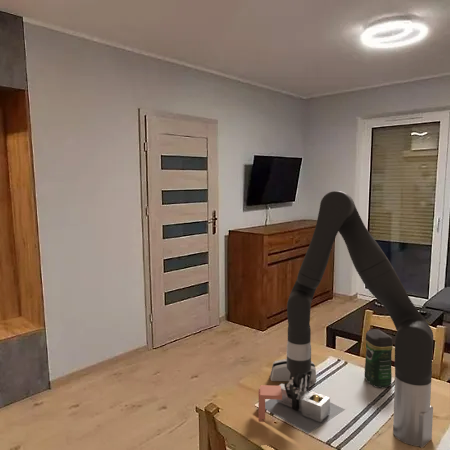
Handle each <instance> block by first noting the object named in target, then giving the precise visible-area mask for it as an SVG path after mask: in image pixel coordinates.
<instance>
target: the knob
mask: <svg viewBox="0 0 450 450" xmlns="http://www.w3.org/2000/svg"><path fill="white" fill-rule="evenodd" d="M313 401H315V402H318V403H319V396H318V395H314V397H313Z"/></svg>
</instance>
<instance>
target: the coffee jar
mask: <svg viewBox="0 0 450 450" xmlns="http://www.w3.org/2000/svg"><path fill="white" fill-rule="evenodd" d="M364 339H365V361H364V362H365V363H364V373H363V374H364V378H365V380H366V381H367V382H368V383H369V384H370V385H372V386H373V387H377V388H382V387H383V388H387V387H389V386H392V379H393V378H392V377H393V376H392V375H393V373H392V355H393V354H392V353H393V352H392V351H393V347H394V344H393V342H394V341H393V337H392V336H391V335H389V334H387V333H386V332H385V331H382V330H380V329H377V328H376V329H373V328H372V329H369V330H367V331H366V333H365V338H364Z"/></svg>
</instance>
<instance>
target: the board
mask: <svg viewBox="0 0 450 450" xmlns="http://www.w3.org/2000/svg"><path fill="white" fill-rule="evenodd" d="M295 388H296V387H295ZM306 392H307V393H310V392H311V391H308V390H306ZM266 410H267V411H268V412H270V413H271V414H273V415H275V416H277V417H278V418H280V419H282V420H284V421H285V422H286V423H289V424H290V425H292V426H294V427H295V428H298V429H299V430H301V431H302V432H304V433H306V434H310V433H311V432H313V431H314V430H316V429H317V428H320V427H321V426H322V425H324V424H325V423H326V422H328V421H330V420H331V419H333V418H334V417H336V416H337V415H338V414H340V413H342V412H343V411H345V410H346V409H345V408H343V407H340V406H339V405H337V404H334V403H332V402H331V401H330V413H329V414H328V415H327V416H326V418H325V419H324V420H323V421H322V422H318V421H316V420H313V419H311V418H308V417H306V416H303V415H302V411H299V410H298V411H296V410H294V409H292V408H291V407H289V406H286V405H284V404H281V403H279V402H277V399H267V400H265V411H266Z"/></svg>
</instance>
